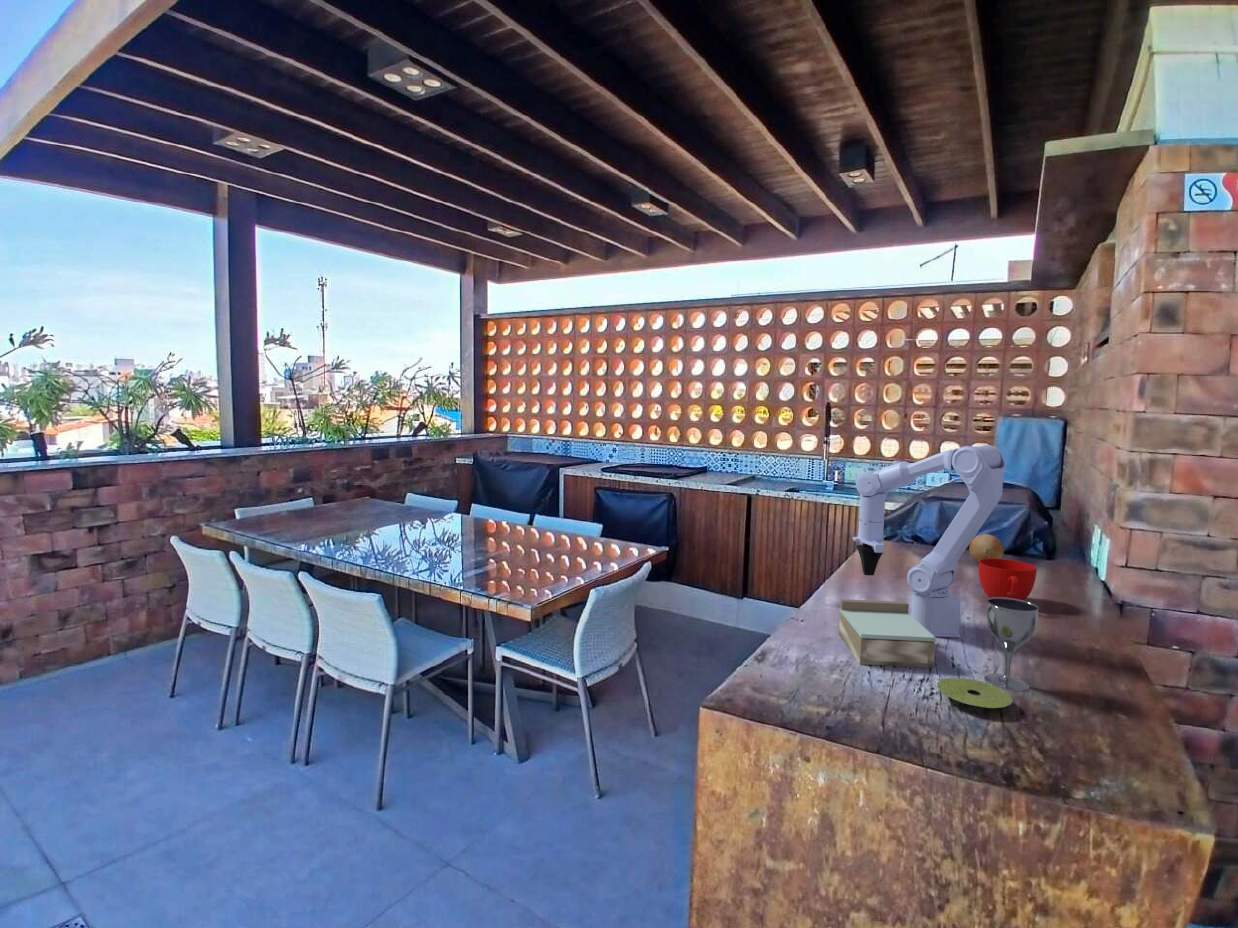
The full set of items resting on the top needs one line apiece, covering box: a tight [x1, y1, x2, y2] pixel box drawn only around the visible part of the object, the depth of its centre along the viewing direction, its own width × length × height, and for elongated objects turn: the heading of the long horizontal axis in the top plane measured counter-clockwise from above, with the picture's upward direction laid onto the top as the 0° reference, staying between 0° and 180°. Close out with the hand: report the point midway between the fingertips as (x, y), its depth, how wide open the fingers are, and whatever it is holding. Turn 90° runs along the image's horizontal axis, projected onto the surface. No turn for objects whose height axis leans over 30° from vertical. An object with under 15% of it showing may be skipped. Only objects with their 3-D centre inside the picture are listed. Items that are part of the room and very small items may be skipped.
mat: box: [936, 677, 1013, 709], centre depth 106 cm, size 11×11×2 cm
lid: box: [839, 598, 937, 643], centre depth 128 cm, size 14×16×3 cm
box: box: [838, 612, 936, 669], centre depth 128 cm, size 14×16×5 cm
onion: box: [968, 533, 1005, 563], centre depth 202 cm, size 10×10×10 cm
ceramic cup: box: [978, 558, 1038, 601], centre depth 161 cm, size 13×17×10 cm
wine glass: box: [984, 597, 1039, 692], centre depth 113 cm, size 8×8×15 cm
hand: (868, 574), depth 152 cm, fingers closed
